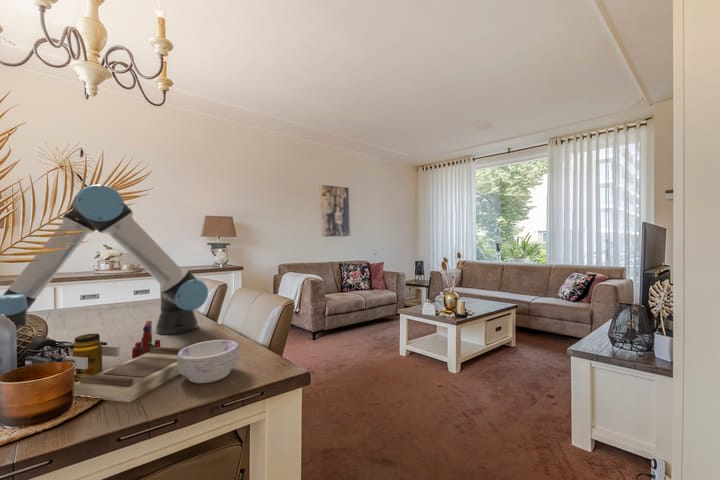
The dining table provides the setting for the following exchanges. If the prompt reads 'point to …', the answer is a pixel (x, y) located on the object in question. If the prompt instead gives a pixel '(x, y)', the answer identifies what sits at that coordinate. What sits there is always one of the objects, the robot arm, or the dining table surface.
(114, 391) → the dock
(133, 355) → the toy fire truck
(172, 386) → the dining table surface
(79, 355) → the condiment
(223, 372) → the paper bowls
